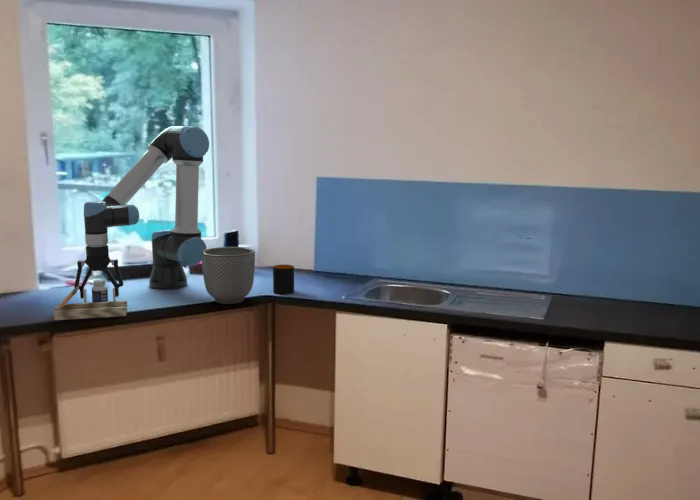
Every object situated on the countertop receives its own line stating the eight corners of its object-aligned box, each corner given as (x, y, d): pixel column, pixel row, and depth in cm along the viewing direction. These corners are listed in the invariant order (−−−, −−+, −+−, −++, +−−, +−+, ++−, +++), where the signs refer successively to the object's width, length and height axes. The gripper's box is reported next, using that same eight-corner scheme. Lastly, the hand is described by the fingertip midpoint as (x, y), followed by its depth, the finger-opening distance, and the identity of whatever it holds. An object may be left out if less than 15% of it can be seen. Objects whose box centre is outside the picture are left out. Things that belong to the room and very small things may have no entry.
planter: (229, 292, 273) (228, 244, 269) (266, 299, 262) (266, 250, 258) (191, 302, 257) (189, 251, 253) (229, 310, 246) (228, 257, 242)
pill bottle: (103, 309, 246) (101, 282, 244) (89, 308, 247) (88, 281, 245) (111, 305, 251) (109, 279, 250) (98, 304, 252) (96, 278, 251)
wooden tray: (127, 308, 247) (126, 299, 246) (126, 315, 237) (125, 306, 237) (58, 312, 241) (57, 302, 240) (54, 320, 232) (53, 310, 231)
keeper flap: (79, 287, 241) (77, 285, 240) (76, 292, 233) (74, 291, 232) (65, 301, 240) (62, 300, 240) (61, 307, 232) (59, 306, 232)
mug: (289, 287, 282) (289, 262, 280) (296, 293, 271) (296, 268, 269) (269, 288, 279) (268, 263, 278) (275, 295, 268) (275, 269, 266)
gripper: (129, 242, 252) (132, 302, 256) (65, 244, 246) (69, 305, 250) (128, 245, 245) (131, 307, 248) (62, 247, 239) (66, 310, 243)
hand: (100, 306), depth 249 cm, fingers open, 9 cm apart
